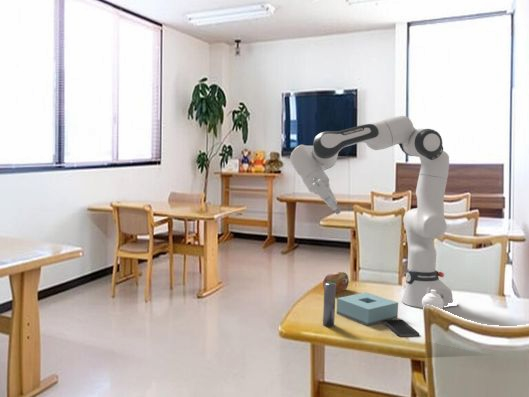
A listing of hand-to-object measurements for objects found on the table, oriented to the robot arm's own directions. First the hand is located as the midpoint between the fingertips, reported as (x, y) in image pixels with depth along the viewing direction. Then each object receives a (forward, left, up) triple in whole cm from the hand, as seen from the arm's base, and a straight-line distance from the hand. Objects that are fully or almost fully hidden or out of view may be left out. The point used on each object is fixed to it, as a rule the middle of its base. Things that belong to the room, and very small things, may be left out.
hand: (337, 211), depth 188 cm
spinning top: (-33, +15, -39) cm, 53 cm away
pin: (+7, +12, -39) cm, 42 cm away
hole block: (-12, +5, -39) cm, 41 cm away
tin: (-12, -28, -40) cm, 50 cm away
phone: (-17, +20, -40) cm, 48 cm away
